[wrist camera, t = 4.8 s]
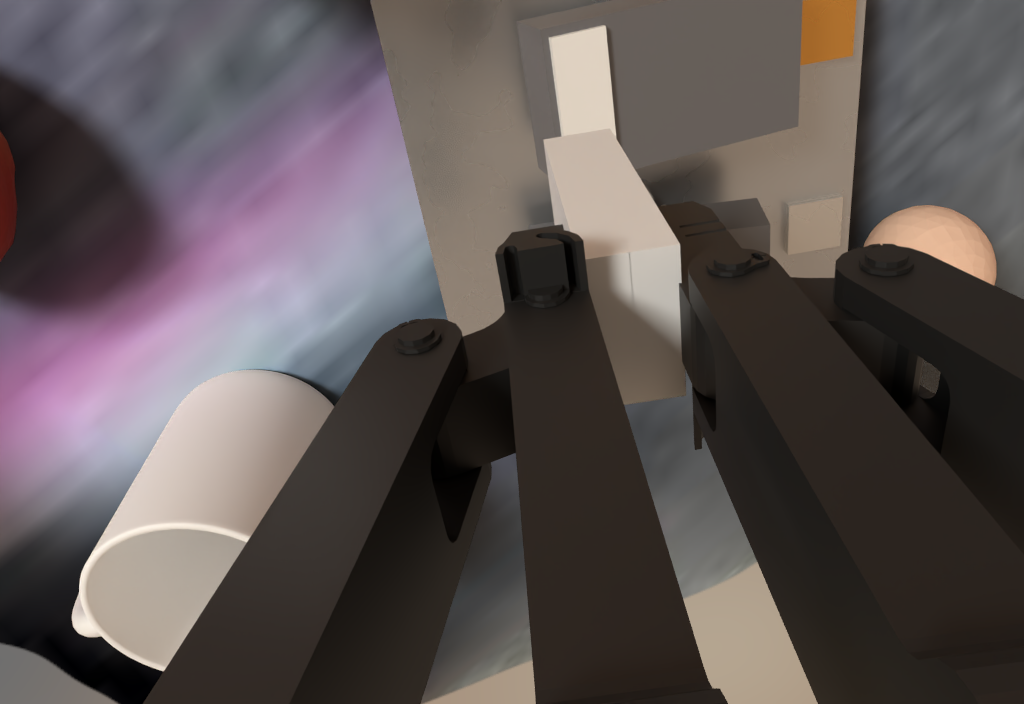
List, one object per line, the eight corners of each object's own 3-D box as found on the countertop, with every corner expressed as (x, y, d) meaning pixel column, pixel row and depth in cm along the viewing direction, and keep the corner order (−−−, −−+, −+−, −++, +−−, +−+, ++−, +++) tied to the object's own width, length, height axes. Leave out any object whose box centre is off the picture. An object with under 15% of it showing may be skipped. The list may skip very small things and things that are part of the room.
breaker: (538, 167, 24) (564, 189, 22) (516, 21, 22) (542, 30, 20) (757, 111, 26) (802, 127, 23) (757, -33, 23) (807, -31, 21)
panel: (461, 341, 33) (460, 380, 31) (290, -380, 21) (263, -423, 18) (819, 280, 33) (851, 314, 30) (861, -504, 20) (922, -569, 17)
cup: (386, 461, 37) (360, 633, 28) (193, 550, 39) (114, 733, 31) (283, 334, 33) (216, 489, 24) (76, 441, 35) (-53, 617, 27)
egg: (967, 217, 31) (1058, 275, 27) (893, 300, 33) (964, 368, 28) (891, 168, 30) (971, 219, 25) (818, 257, 32) (880, 321, 27)
